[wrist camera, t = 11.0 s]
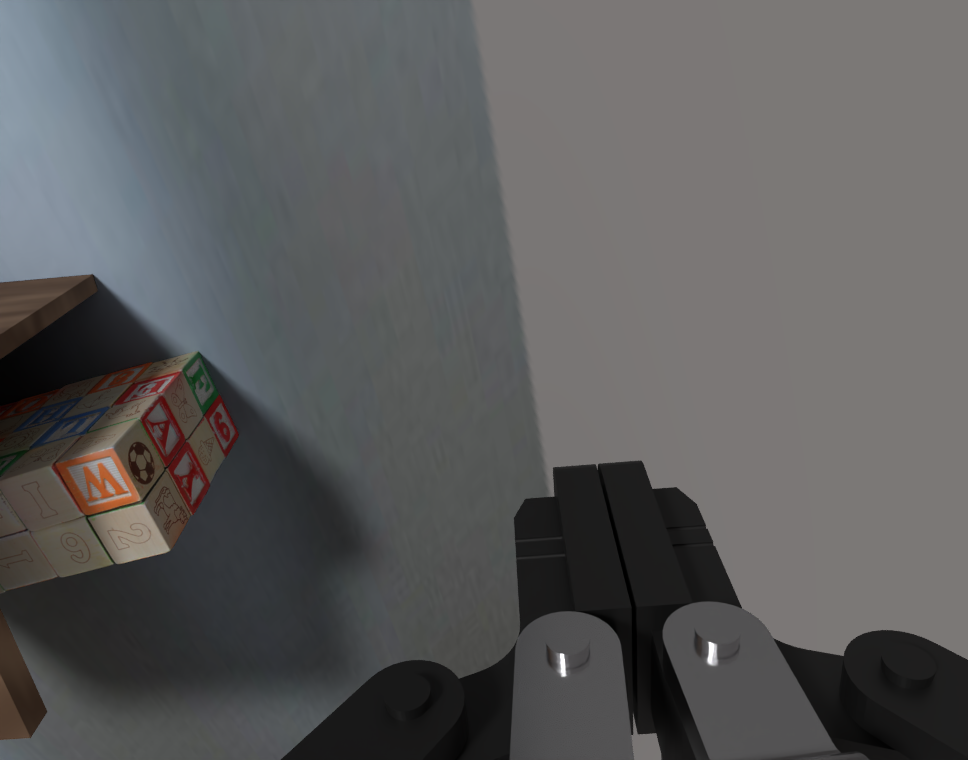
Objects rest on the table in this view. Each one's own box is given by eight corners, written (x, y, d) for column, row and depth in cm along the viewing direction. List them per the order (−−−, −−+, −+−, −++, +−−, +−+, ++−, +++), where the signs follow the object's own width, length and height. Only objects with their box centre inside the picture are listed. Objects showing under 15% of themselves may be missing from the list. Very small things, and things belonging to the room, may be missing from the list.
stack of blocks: (-53, 511, 52) (-200, 646, 41) (-107, 432, 49) (-281, 553, 38) (242, 434, 49) (171, 555, 38) (200, 346, 47) (111, 449, 36)
